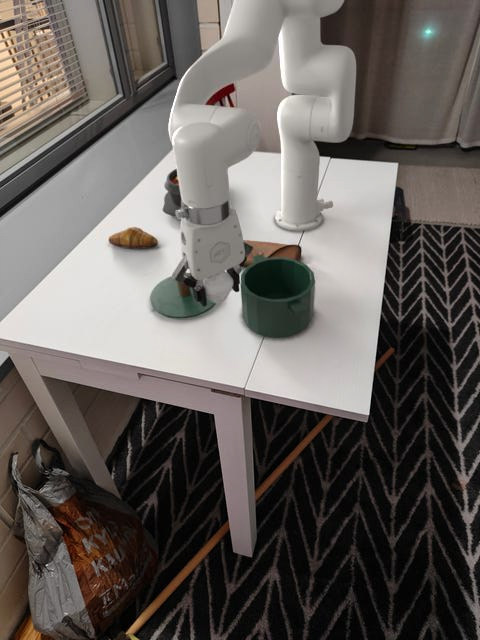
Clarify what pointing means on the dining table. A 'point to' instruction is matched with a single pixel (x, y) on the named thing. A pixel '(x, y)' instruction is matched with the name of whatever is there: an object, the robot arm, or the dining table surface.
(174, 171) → the casserole
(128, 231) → the croissant
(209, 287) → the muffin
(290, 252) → the sunglasses case
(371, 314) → the dining table surface
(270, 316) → the pot
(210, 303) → the lid
